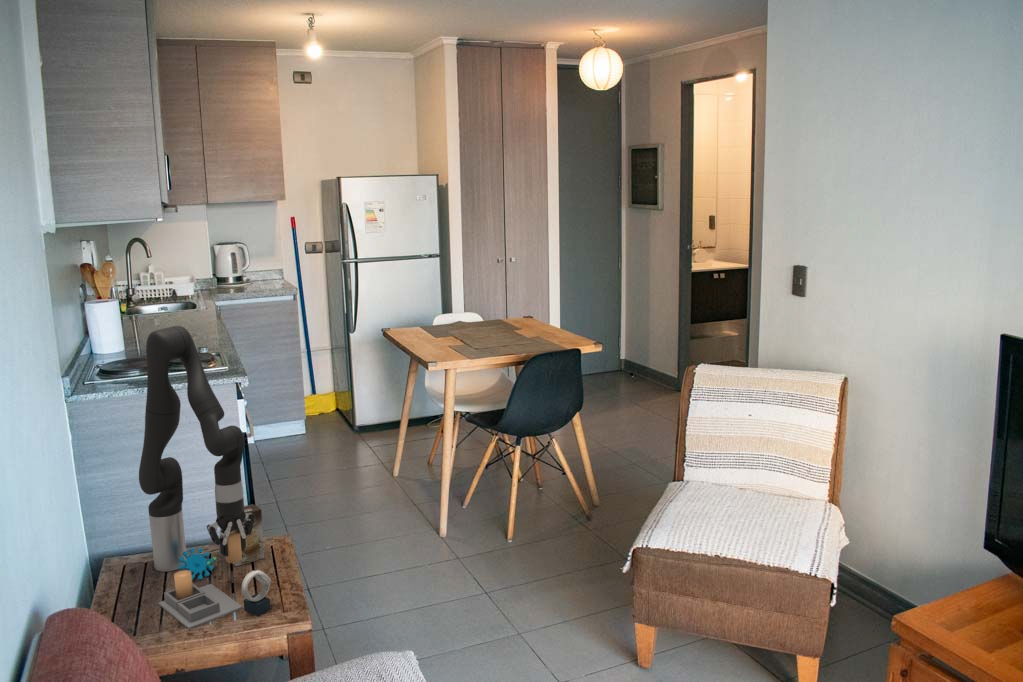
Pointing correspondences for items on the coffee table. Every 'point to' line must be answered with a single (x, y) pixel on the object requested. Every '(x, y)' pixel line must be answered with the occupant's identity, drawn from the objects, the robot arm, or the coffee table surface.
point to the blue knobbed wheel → (197, 563)
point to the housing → (196, 602)
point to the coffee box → (253, 538)
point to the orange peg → (234, 547)
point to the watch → (256, 602)
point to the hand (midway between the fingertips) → (233, 552)
